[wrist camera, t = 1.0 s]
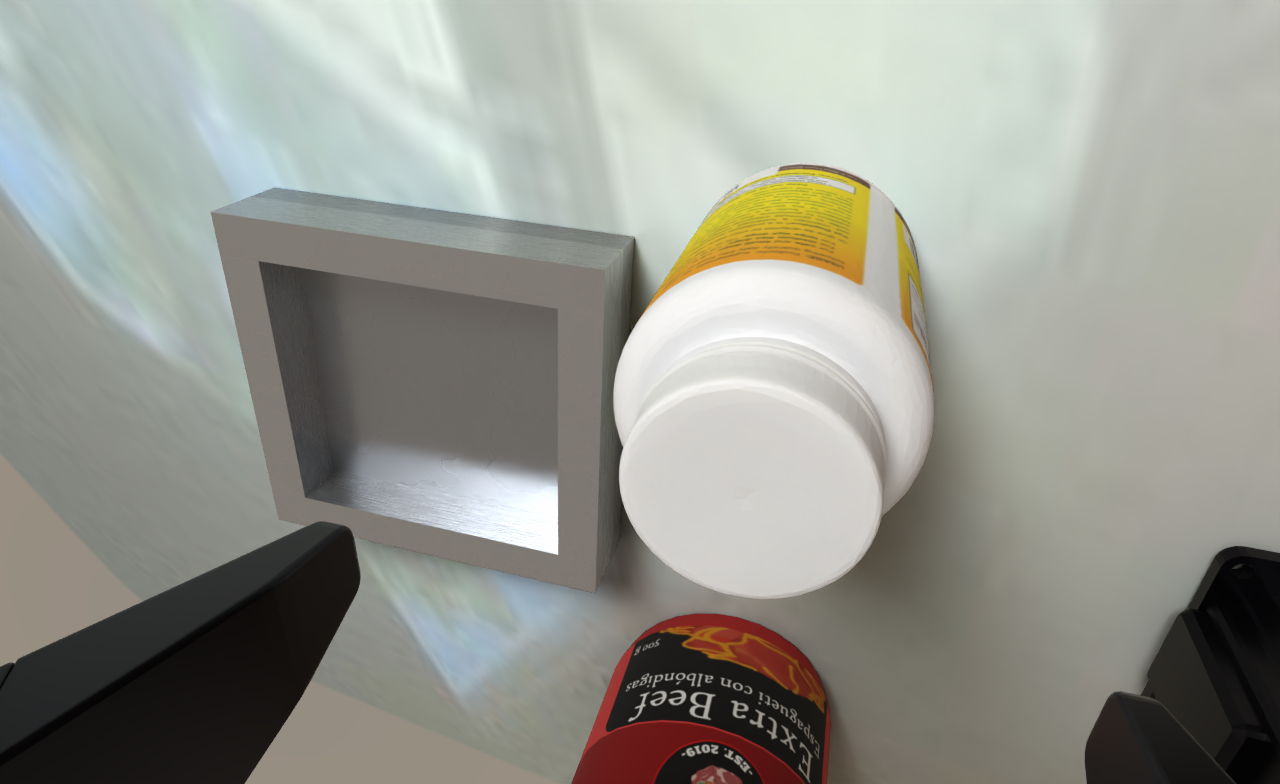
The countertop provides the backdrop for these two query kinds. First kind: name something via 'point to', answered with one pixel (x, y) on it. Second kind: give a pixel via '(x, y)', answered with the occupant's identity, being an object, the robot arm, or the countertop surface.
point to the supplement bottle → (777, 386)
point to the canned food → (710, 709)
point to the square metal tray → (435, 376)
